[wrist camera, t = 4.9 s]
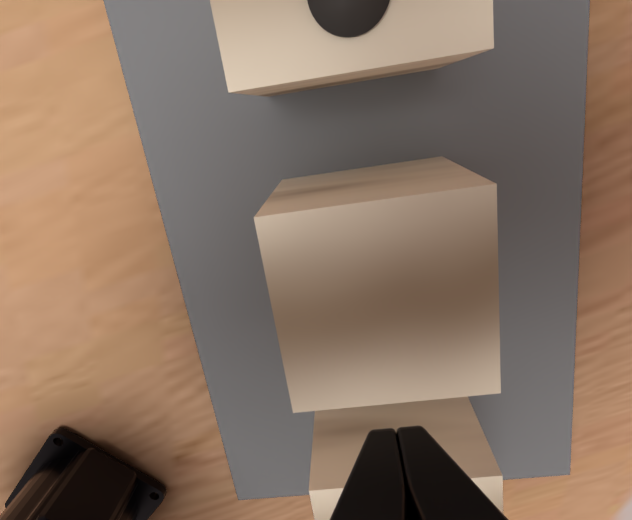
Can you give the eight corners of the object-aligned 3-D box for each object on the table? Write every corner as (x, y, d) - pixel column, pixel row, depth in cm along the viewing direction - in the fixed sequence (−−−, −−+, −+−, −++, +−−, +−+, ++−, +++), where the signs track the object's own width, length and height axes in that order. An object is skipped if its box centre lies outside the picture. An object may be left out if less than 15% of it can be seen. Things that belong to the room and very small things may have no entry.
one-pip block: (463, 474, 21) (511, 614, 15) (335, 484, 22) (334, 623, 16) (457, 365, 19) (509, 479, 13) (317, 380, 20) (308, 494, 14)
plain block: (450, 303, 18) (500, 392, 13) (306, 320, 19) (293, 413, 13) (441, 156, 16) (496, 183, 11) (282, 179, 17) (253, 217, 11)
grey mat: (561, 461, 22) (570, 474, 21) (241, 487, 23) (238, 500, 22) (584, -186, 14) (598, -202, 13) (91, -82, 15) (79, -91, 14)
